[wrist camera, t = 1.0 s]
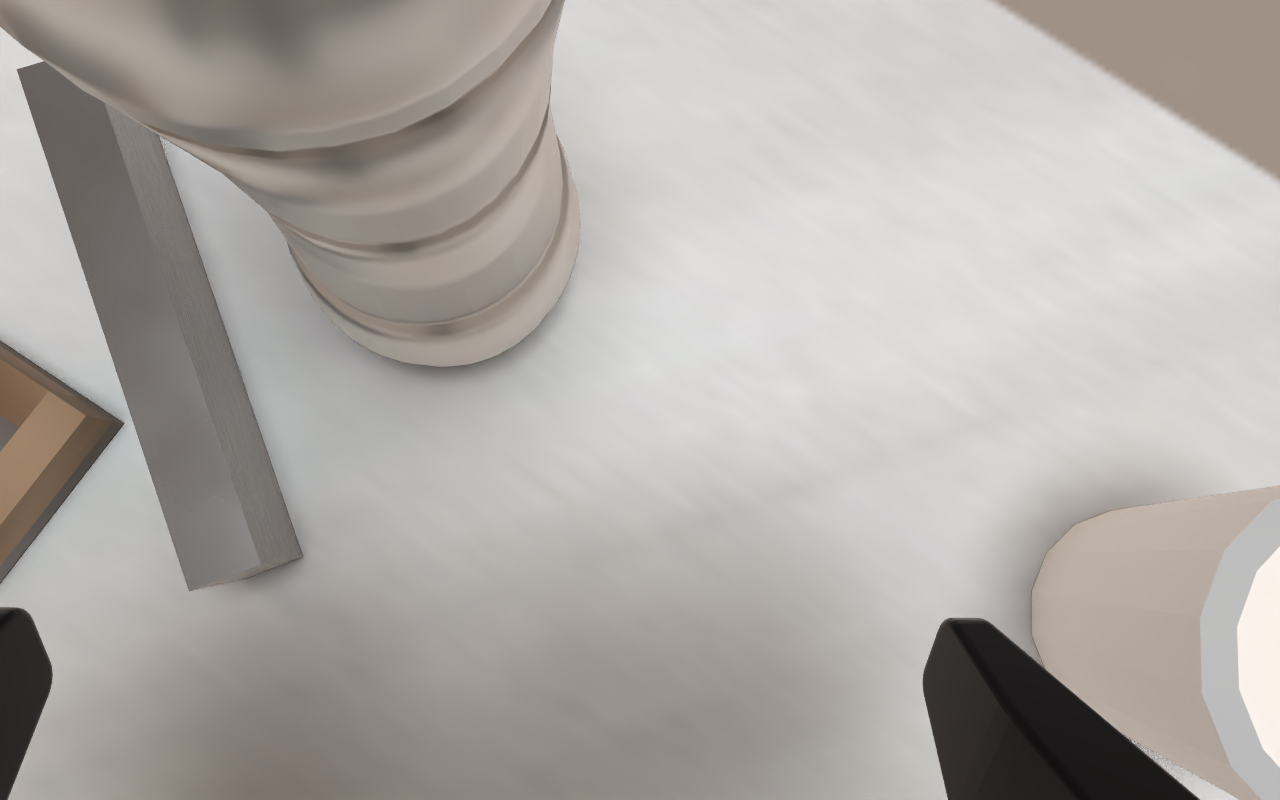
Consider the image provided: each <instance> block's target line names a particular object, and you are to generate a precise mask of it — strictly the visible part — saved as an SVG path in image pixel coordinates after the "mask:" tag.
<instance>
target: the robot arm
mask: <svg viewBox="0 0 1280 800" xmlns="http://www.w3.org/2000/svg"><path fill="white" fill-rule="evenodd" d="M52 675H53V674H52V666H51V662H50V660H49V657H48V655H47V653H46V650H45V648H44V645H43V643H42V641H41V638H40V636H39V633H38V631H37V628H36V626H35V624H34V621H33V619H32V617H31V615H30V614H29V613H28V612H27V611H25V610H24V609H21V608H9V607H0V800H8V797H9V795H10V792H11V789H12V787H13V784H14V782H15V779H16V777H17V774H18V772H19V769H20V766H21V764H22V761H23V759H24V756H25V754H26V751H27V749H28V746H29V744H30V741H31V738H32V736H33V733H34V731H35V728H36V726H37V723H38V721H39V718H40V715H41V713H42V710H43V708H44V705H45V703H46V700H47V698H48V695H49V692H50V689H51V684H52ZM923 692H924V697H925V701H926V706H927V710H928V714H929V719H930V723H931V727H932V732H933V736H934V741H935V745H936V749H937V754H938V758H939V762H940V767H941V771H942V775H943V780H944V784H945V789H946V793H947V797H948V800H1200V799H1199V798H1198V797H1196V796H1195V795H1194V794H1193V793H1192V792H1191V791H1189V790H1188V789H1187V788H1186V787H1185V786H1183V785H1182V784H1181V783H1180V782H1179V781H1177V780H1176V779H1175V778H1174V777H1173V776H1172V775H1170V774H1169V773H1168V772H1167V771H1166V770H1164V769H1163V768H1162V767H1161V766H1160V765H1158V764H1157V763H1156V762H1155V761H1154V760H1153V759H1151V758H1150V757H1149V756H1148V755H1147V754H1145V753H1144V752H1143V751H1142V750H1141V749H1139V748H1138V747H1137V746H1136V745H1135V744H1134V743H1132V742H1131V741H1130V740H1129V739H1128V738H1126V737H1125V736H1124V735H1123V734H1122V733H1121V732H1119V731H1118V730H1117V729H1116V728H1115V727H1113V726H1112V725H1111V724H1110V723H1109V722H1107V721H1106V720H1105V719H1104V718H1103V717H1102V716H1100V715H1099V714H1098V713H1097V712H1096V711H1094V710H1093V709H1092V708H1091V707H1090V706H1088V705H1087V704H1086V703H1085V702H1084V701H1083V700H1081V699H1080V698H1079V697H1078V696H1077V695H1075V694H1074V693H1073V692H1072V691H1071V690H1069V689H1068V688H1067V687H1066V686H1065V685H1064V684H1062V683H1061V682H1060V681H1059V680H1058V679H1056V678H1055V677H1054V676H1053V675H1052V674H1051V673H1049V672H1048V671H1047V670H1046V669H1045V668H1043V667H1042V666H1041V665H1040V664H1039V663H1037V662H1036V661H1035V660H1034V659H1033V658H1032V657H1030V656H1029V655H1028V654H1027V653H1026V652H1024V651H1023V650H1022V649H1021V648H1020V647H1018V646H1017V645H1016V644H1015V643H1014V642H1013V641H1011V640H1010V639H1009V638H1008V637H1007V636H1005V635H1004V634H1003V633H1002V632H1001V631H999V630H998V629H997V628H996V627H995V626H994V625H992V624H991V623H990V622H988V621H986V620H984V619H981V618H948V619H946V620H944V621H943V622H942V623H941V625H940V627H939V630H938V632H937V635H936V638H935V641H934V644H933V646H932V649H931V652H930V655H929V658H928V661H927V663H926V666H925V669H924V674H923Z"/></svg>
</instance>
